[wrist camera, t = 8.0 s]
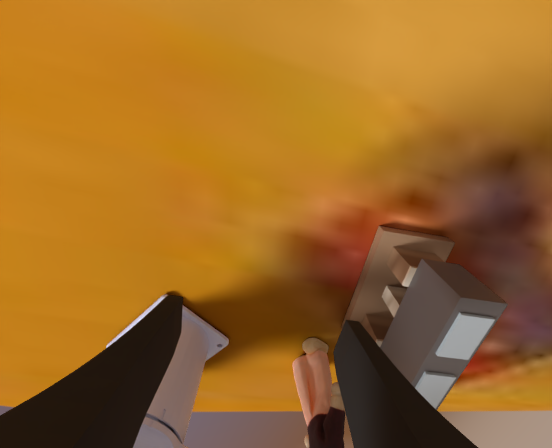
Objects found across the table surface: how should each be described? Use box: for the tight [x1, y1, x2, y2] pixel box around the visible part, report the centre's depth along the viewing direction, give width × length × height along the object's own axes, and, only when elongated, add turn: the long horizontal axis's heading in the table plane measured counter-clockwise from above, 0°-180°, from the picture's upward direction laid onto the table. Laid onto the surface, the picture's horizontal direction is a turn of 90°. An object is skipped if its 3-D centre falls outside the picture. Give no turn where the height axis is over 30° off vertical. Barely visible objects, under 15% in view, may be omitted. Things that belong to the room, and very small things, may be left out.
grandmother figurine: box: [293, 338, 345, 448], centre depth 21 cm, size 8×4×13 cm, turn 176°
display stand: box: [341, 226, 455, 347], centre depth 21 cm, size 11×6×4 cm, turn 170°
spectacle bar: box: [380, 259, 508, 410], centre depth 18 cm, size 10×3×4 cm, turn 170°
